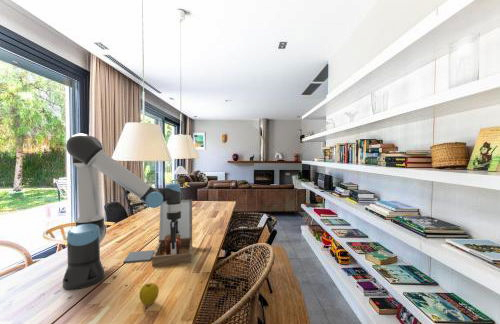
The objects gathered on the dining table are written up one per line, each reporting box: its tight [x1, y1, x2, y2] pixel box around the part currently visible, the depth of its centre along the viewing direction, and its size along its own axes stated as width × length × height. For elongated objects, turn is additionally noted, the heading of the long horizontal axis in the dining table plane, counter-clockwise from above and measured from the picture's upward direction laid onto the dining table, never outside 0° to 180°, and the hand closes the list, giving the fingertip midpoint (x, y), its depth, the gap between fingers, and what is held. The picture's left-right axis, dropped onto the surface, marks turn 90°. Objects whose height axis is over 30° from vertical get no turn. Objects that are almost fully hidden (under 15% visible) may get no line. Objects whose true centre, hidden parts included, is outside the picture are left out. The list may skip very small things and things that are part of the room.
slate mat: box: [123, 249, 155, 264], centre depth 132 cm, size 13×13×1 cm
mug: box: [164, 234, 182, 255], centre depth 134 cm, size 12×9×10 cm
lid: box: [158, 199, 193, 241], centre depth 149 cm, size 23×19×1 cm
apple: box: [138, 282, 160, 306], centre depth 89 cm, size 6×6×8 cm
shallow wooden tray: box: [151, 237, 193, 267], centre depth 134 cm, size 23×19×6 cm
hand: (174, 249), depth 134 cm, fingers open, 13 cm apart
